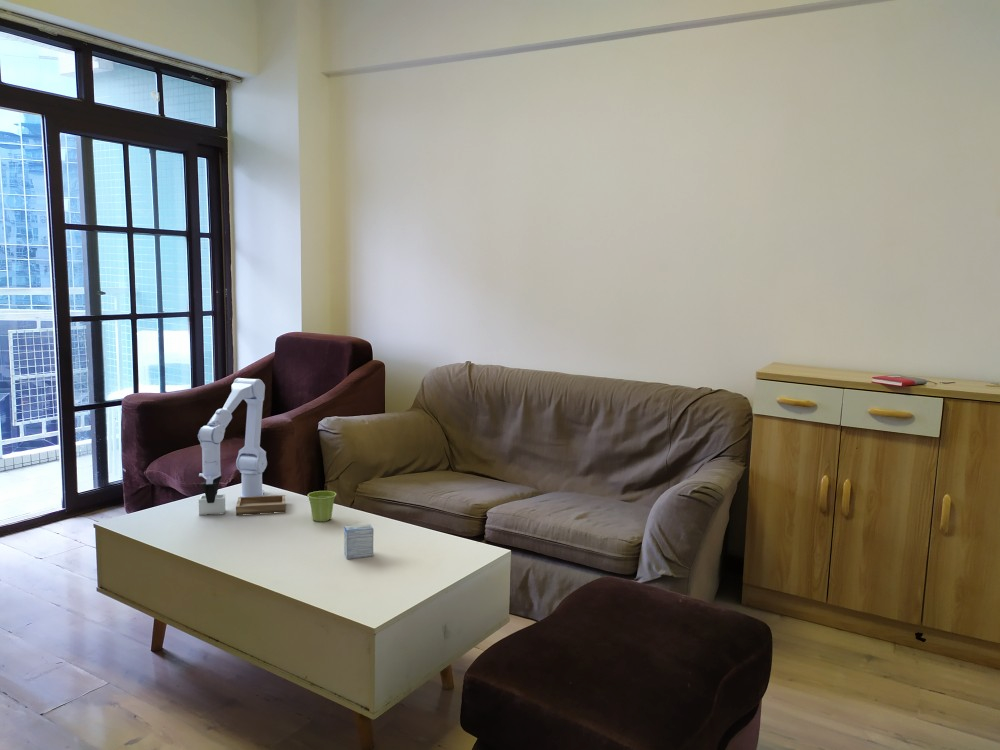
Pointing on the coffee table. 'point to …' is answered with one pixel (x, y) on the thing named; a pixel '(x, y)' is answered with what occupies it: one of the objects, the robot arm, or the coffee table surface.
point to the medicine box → (358, 541)
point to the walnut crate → (260, 504)
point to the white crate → (212, 505)
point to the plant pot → (321, 504)
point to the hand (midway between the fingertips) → (212, 499)
